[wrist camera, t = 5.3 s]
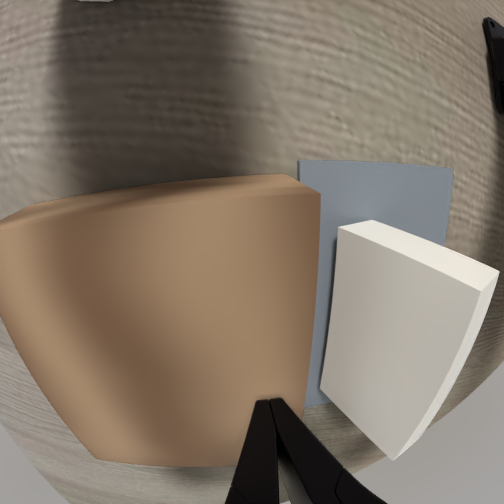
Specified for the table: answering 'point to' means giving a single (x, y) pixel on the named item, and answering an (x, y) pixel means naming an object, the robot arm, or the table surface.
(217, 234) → the tan beveled block
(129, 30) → the table surface
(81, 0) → the white cup
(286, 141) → the table surface
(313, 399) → the mat
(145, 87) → the table surface
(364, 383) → the white sticky note pad
